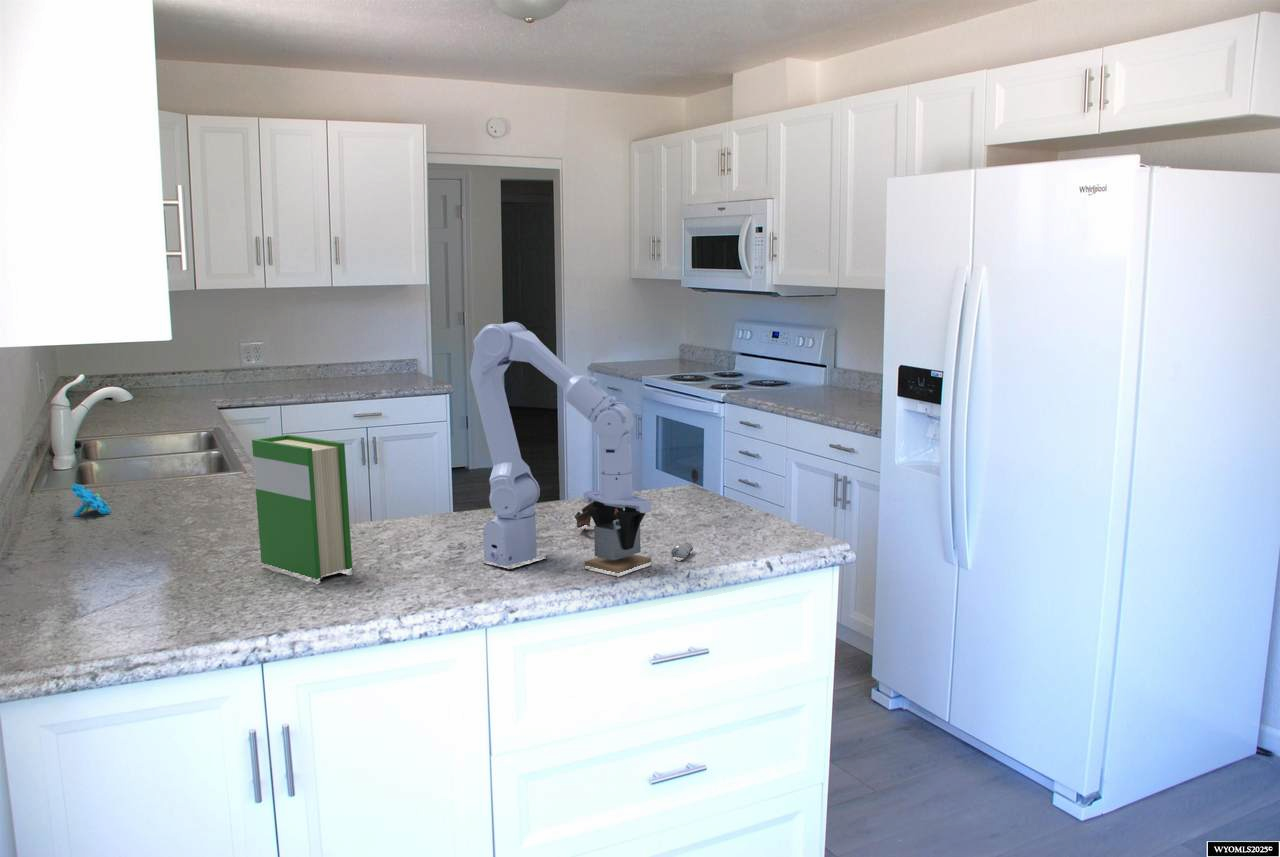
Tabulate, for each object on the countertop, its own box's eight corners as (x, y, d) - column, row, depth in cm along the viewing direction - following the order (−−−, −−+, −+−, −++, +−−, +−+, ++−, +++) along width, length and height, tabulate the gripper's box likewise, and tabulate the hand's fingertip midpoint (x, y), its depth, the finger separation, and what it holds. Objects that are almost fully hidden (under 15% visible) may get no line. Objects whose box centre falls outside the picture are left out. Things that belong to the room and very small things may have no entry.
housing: (614, 560, 177) (613, 528, 176) (594, 556, 180) (593, 524, 179) (640, 552, 182) (640, 520, 181) (620, 547, 185) (620, 517, 185)
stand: (617, 577, 176) (617, 569, 175) (584, 569, 181) (584, 561, 181) (651, 565, 182) (650, 557, 182) (618, 558, 188) (618, 550, 187)
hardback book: (352, 574, 181) (344, 442, 177) (316, 584, 175) (307, 449, 171) (297, 559, 192) (288, 434, 188) (261, 568, 186) (251, 440, 182)
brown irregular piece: (615, 543, 201) (593, 509, 200) (583, 557, 206) (561, 524, 205) (643, 515, 210) (622, 482, 209) (611, 529, 216) (590, 497, 215)
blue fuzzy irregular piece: (105, 511, 228) (69, 482, 226) (86, 531, 227) (49, 502, 225) (119, 507, 239) (85, 480, 237) (101, 526, 238) (66, 498, 236)
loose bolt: (685, 562, 184) (685, 547, 184) (671, 560, 185) (671, 546, 185) (695, 553, 190) (695, 539, 189) (681, 552, 191) (681, 538, 190)
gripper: (661, 473, 177) (662, 547, 179) (601, 464, 187) (603, 535, 189) (635, 479, 172) (636, 556, 174) (574, 470, 181) (576, 543, 183)
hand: (617, 546), depth 181 cm, fingers closed on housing, 5 cm apart
